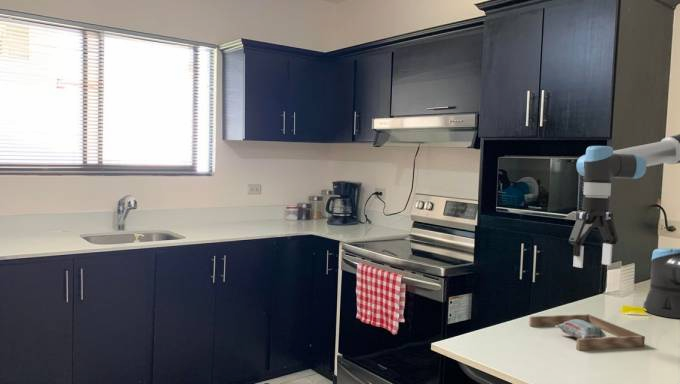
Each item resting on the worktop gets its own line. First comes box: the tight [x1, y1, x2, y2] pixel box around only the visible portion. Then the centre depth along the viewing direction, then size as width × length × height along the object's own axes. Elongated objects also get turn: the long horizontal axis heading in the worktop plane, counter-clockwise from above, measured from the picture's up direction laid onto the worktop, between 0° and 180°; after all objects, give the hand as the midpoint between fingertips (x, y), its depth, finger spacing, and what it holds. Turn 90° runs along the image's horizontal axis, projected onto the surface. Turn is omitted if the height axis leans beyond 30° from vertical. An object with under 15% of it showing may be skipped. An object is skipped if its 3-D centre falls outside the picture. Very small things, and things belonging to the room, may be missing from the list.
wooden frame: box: [528, 313, 646, 351], centre depth 168 cm, size 22×24×3 cm
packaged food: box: [554, 319, 607, 340], centre depth 165 cm, size 9×12×5 cm
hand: (592, 265), depth 169 cm, fingers open, 13 cm apart
